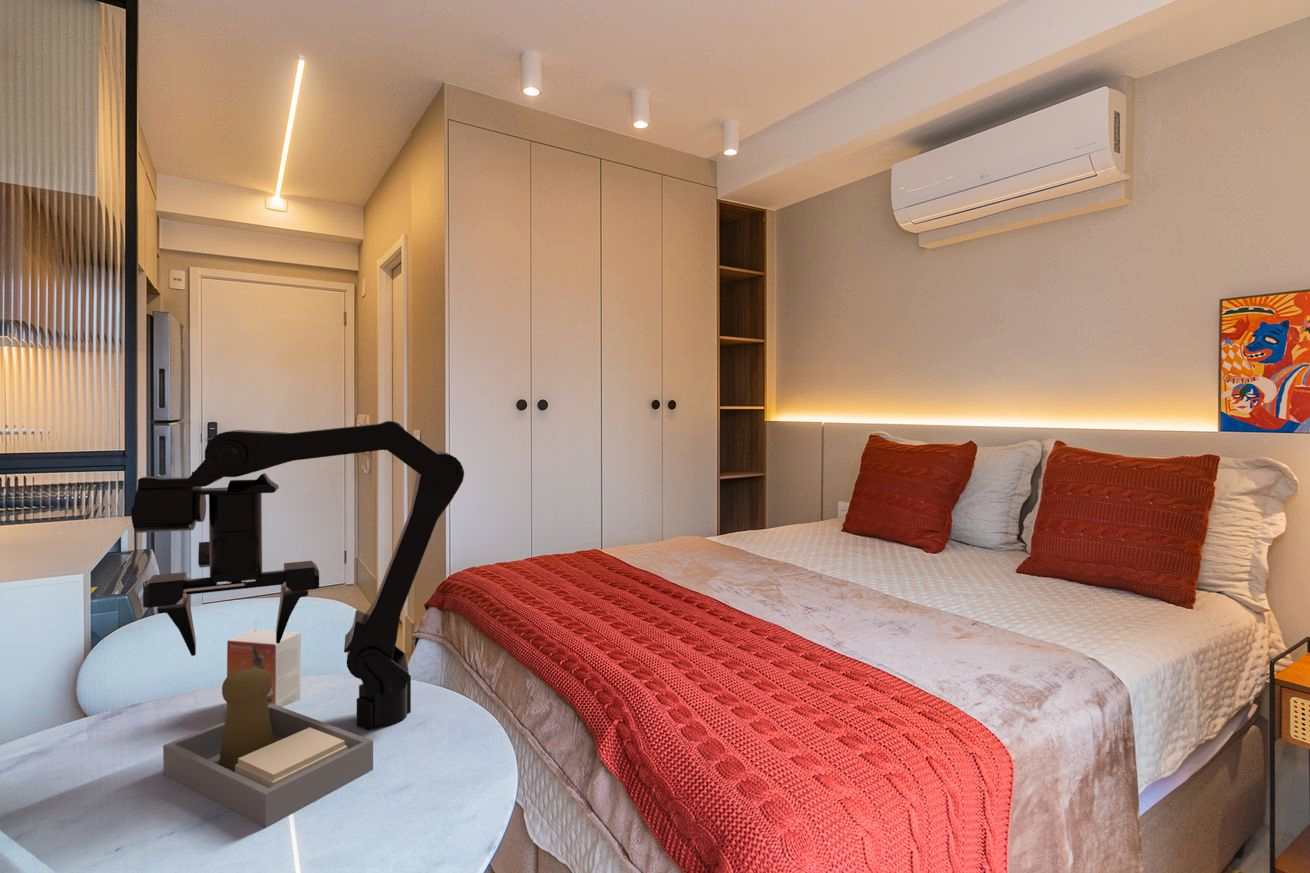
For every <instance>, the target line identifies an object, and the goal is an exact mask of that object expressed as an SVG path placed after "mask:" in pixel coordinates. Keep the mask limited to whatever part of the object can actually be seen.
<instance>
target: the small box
mask: <svg viewBox="0 0 1310 873" xmlns="http://www.w3.org/2000/svg"><path fill="white" fill-rule="evenodd" d="M226 644H227V646H226V648H227V650H226V652H227V653H226V678H227V677H228V676H229V675H231V674H232V673H234V672H237V671H240V670H243V669H249V668H260V669H264V670H266V671H268V672H269V674H270V676H271V679H272V686H271V690H270V692H269V693H268V694H267V702H268V705H270V704H275V705H277V706H280V707H283V708H284V707H285V706H288V705H291V704H293V703H296V702H298V701H300V700H301V684H302V683H301V674H302V673H301V671H302V670H301V669H302V667H301V666H302V665H301V664H302V661H301V660H302V653H301V652H302V649H301V648H302V633H301V632H299V631H298V632H295V631H294V632H291V631H284V633H283V636H282V638H281V641H280V643H278V644H276V630H275V631H274V630H266V629H265V630H263V629H258V628H257V629H256V628H255V629H254V628H253V629H252V630H248V631H247V632H245V633H242V634H239V635H238V636H235V637H233V638H230V639H228V640H227V642H226Z"/></svg>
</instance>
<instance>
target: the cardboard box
mask: <svg viewBox="0 0 1310 873" xmlns="http://www.w3.org/2000/svg"><path fill="white" fill-rule="evenodd" d="M345 750H347V746H346V745H345V741H344V740H342V739H339V738H336V737H334V736H331V735H329V734H326V733H323V732H321V731H318V730H315V729H313V728H310V727H309V728H307V729H305V730H302V731H300V732H298V733H295V734H293V735H291V736H289V737H286V738H284V739H282V740H279V741H277V742H275V743H272V744H270V745H268V746H266V747H263V748H261V749H259V750H256V751H254V752H252V753H249V754H247V755H245V756H243V757H240V758H238V764H236V765H235V773H237V774H239V775H242V776H244V777H246V778H248V779H250V780H252V781H254V782H256V783H259V784H261V785H263V786H265V787H267V788H270V787H272V786H274V785H276V784H278V783H280V782H283V781H285V780H287V779H289V778H291V777H293V776H295V775H297V774H299V773H301V772H303V771H305V770H307V769H309V768H311V767H313V766H315V765H317V764H319V763H321V762H323V761H325V760H327V759H329V758H331V757H333V756H335V755H337V754H339V753H341V752H343V751H345Z"/></svg>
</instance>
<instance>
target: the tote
mask: <svg viewBox="0 0 1310 873" xmlns="http://www.w3.org/2000/svg"><path fill="white" fill-rule="evenodd" d="M268 708H269V714H270V720H271V726H272V733H273V739H274V743H275V742H277V741H279V740H282V739H284V738H286V737H289V736H291V735H293V734H295V733H298V732H300V731H302V730H305V729H307V728H309V727H310V728H313V729H315V730H318V731H321V732H323V733H326V734H329V735H331V736H334V737H336V738H339V739H342V740H344V741H345V745H346V746H347V750H345V751H343V752H341V753H339V754H337V755H335V756H333V757H331V758H329V759H327V760H325V761H323V762H321V763H319V764H317V765H315V766H313V767H311V768H309V769H307V770H305V771H303V772H301V773H299V774H297V775H295V776H293V777H291V778H289V779H287V780H285V781H283V782H280V783H278V784H276V785H274V786H272V787H270V788H267V787H265V786H263V785H261V784H259V783H256V782H254V781H252V780H250V779H248V778H246V777H244V776H242V775H239V774H237V773H235V772H233V771H231V770H229V769H227V768H224V767H222V766H220V765H219V760H220V753H221V746H222V739H223V732H224V725H225V721H224V722H220V723H217V724H214V725H213V726H209V727H207V728H204V729H203V730H199V731H197V732H194V733H192V734H189V735H186V736H183V737H181V738H179V739H175V740H173V741H171V742H168V743H166V744H163V745H162V747H163V748H162V754H163V755H162V756H163V758H162V760H163V776H165V777H167V778H168V779H171V780H172V781H175V782H176V783H178V784H180V785H182V786H184V787H186V788H187V789H190V790H191V791H193V792H196V793H197V794H199V795H202V796H203V797H205V798H207V799H209V800H211V801H213V802H214V803H216V804H219V805H220V806H222V807H225V808H226V809H229V810H230V811H232V812H234V813H236V814H238V815H240V816H241V817H243V818H246V819H247V820H249V821H252V822H253V823H255V824H257V825H259V826H261V827H263V828H265V829H267V828H269V827H270V826H273V825H274V824H276V823H278V822H280V821H281V820H284V819H285V818H287V817H289V816H290V815H293V814H294V813H296V812H298V811H300V810H302V809H304V808H307V806H309V805H311V804H313V803H314V802H316V801H318V800H320V799H323V798H324V797H327V795H329V794H331V793H333V792H335V791H337V790H339V789H340V788H343V787H344V786H346V785H349V783H351V782H355V781H356V780H357V779H359V778H361V777H363V776H364V775H366V774H368V773H370V772H371V771H373V770H374V740H372V739H370V738H366V737H365V736H361V735H359V734H356V733H354V732H350V731H347V730H345V729H342V728H340V727H337V726H333V725H331V724H330V723H329V724H328V723H326V722H323V721H320V720H319V719H318V720H317V719H315V718H313V717H310V716H307V715H304V714H302V713H298V712H296V711H293V710H290V709H289V708H288V709H287V708H285V707H284V706H283V707H280V706H277V705H275V704H270V705H268Z"/></svg>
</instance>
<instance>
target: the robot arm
mask: <svg viewBox="0 0 1310 873" xmlns="http://www.w3.org/2000/svg"><path fill="white" fill-rule="evenodd" d="M377 451H388V452H389V453H391V455H393V456H394V457H396V458H397V459H399V460H400V461H401V462H402V463H404V464H405V465H407V466H408V467H409V468H411V469H412V470H414V471H415V472H416V474H415V475H416V477H415V481H414V486H413V491H412V492H413V493H412V500H411V504H410V505H411V507H410V510H409V513H408V514H407V518H406V520H405V523H404V526H403V528H402V530H401V533H400V536H399V538H398V540H397V543H396V546H395V548H394V550H393V554H392V555H391V559H390V561H389V563H388V566H387V568H386V570H385V573H384V576H383V578H382V581H381V584H380V586H379V588H378V591H377V594H376V597H375V599H374V601H373V602H372V604H370V606H369V608H368V609H367V611H366V612H365V613H364V612H363V611H360V610H355V613H354V618H353V623H352V626H351V628H350V629H349V631H348V632H347V633H346V634H345V637H344V646H343V647H344V648H343V653H344V654H345V653H347V654H346V655H347V656H346V667H347V669H348V671H349V673H350V674H351V675H352V676H353V677H354V678H356V679H359V680H361V682H362V683H361V684H359V685H358V697H357V698H356V727H357V728H360V729H363V730H366V731H368V732H369V731H372V730H377V729H379V728H386V727H390V726H394V725H397V724H399V723H401V722H403V721H404V720H405V719H406V718H407V717H408V714H411V710H412V707H411V706H412V705H411V702H412V699H411V697H412V694H411V693H412V676H411V674H410V672H409V666H408V665H409V664H408V661H407V659H408V658H407V654H406V652H404V651H403V650H401V649H400V648H399V647H398V646H397V640H398V639H397V638H398V633H399V632H398V631H399V627H400V626H399V625H400V619H401V614H402V611H403V609H404V606H405V604H406V601H407V598H408V596H409V593H410V590H411V588H412V585H413V583H414V580H415V578H416V576H417V572H418V570H419V568H420V566H421V562H422V560H423V558H424V555H425V552H426V550H427V547H428V545H429V542H430V540H431V537H432V534H433V532H434V529H435V527H436V525H437V521H438V520H439V518H440V517H441V516H442V514H443V513H444V512H445V511H446V509H447V507H448V506H449V505H450V504H451V502H452V500H453V499H454V497H455V495H456V493H457V492H458V491H459V489H460V487H461V485H462V483H463V481H464V478H465V470H464V467H463V465H462V463H461V462H460V460H459V459H458V458H457V457H455V456H454V455H452V454H450V453H448V452H446V451H442V450H441V451H440V450H437V451H434V450H433V449H431V448H430V447H428V445H426V444H425V443H423V442H422V441H421V440H419V439H418V438H416V437H415V436H414V435H412V434H410V433H409V432H408V431H406V429H405V428H404V426H402V425H401V424H400V423H398V422H396V421H394V420H386V421H383V422H380V423H373V424H363V425H362V424H361V425H354V426H353V425H352V426H346V427H345V426H344V427H336V428H335V427H334V428H326V429H315V430H308V431H299V432H298V431H297V432H283V431H282V432H281V431H267V430H247V429H236V430H228V431H224V432H220V433H217V434H216V435H214V436H213V437H212V438H211V439H210V440H209V441H208V442H207V444H206V447H205V449H204V460H203V461H202V462H201V463H200V464H199V465H198V467H197V468H196V469H195V470H194V471H192V472H191V475H190V476H189V477H161V476H142V477H140V478H139V479H138V480H137V488H136V492H135V495H134V499H133V505H132V506H131V510H130V513H131V522H132V527H133V530H134V532H135V533H139V534H140V533H161V532H182V531H183V532H184V531H185V532H186V531H193V530H194V529H195V527H196V524H197V523H203V522H204V521H205V519H206V514H207V499H206V498H207V497H206V496H208V519H209V520H208V522H209V523H208V524H209V525H208V526H209V528H208V529H209V530H208V531H209V533H208V535H209V538H208V539H209V541H199V542H198V551H197V552H198V553H197V554H198V555H197V556H198V559H197V561H198V562H197V563H198V568H209V577H208V576H207V577H197V578H187V572H186V571H184V572H174V573H164V574H161V573H160V574H154V575H152V576H151V577H149V579H147V581H146V582H145V585H144V587H143V589H142V590H143V591H142V607H143V608H146V609H149V608H151V609H152V608H156V613H157V614H167V615H168V617H169V618H170V620H172V622H173V624H174V625H175V626H176V628H177V629H178V631H179V633H180V635H181V636H182V639H183V641H184V643H185V645H186V648H187V649H188V652H189V653H190V655H191V657H194V656H196V654H197V641H196V634H195V633H196V632H195V626H194V621H193V614H192V609H191V596H190V595H196V594H197V595H198V594H207V593H216V592H225V591H237V590H245V589H254V588H261V587H262V588H263V587H265V588H266V587H271V586H272V587H273V586H280V596H279V606H278V612H277V619H276V627H275V631H276V644H278V643H280V641H281V638H282V636H283V633H284V632H285V630H286V627H287V625H288V622H289V620H290V617H291V615H292V613H293V611H294V609H295V608H296V605H297V604H298V602H299V600H300V599H301V598H305V597H308V596H309V590H311V591H312V590H316V589H320V571H319V570H320V569H319V568H318V566H317V564H316V563H315V562H314V561H312V560H305V561H294V562H284V563H283V569H281V570H272V571H263V537H262V536H263V530H262V529H263V527H262V525H263V522H262V521H263V520H262V519H263V518H262V515H263V514H262V510H263V509H262V504H263V503H262V502H263V501H262V498H263V497H262V495H263V494H274V493H276V491H278V490H279V487H280V486H279V484H277V483H275V482H274V481H272V479H271V478H270V477H269V476H268V475H267V474H266V473H265V472H263V473H261V474H259V476H258V477H257V478H256V479H231V480H230V481H229V482H228V485H227V487H208V486H209V485H211V484H214V483H215V482H218V481H220V480H222V479H223V478H238V477H242V476H245V475H248V474H252V473H256V472H259V471H263V470H266V469H270V468H273V467H275V466H279V465H282V464H287V463H290V462H293V461H295V462H296V461H303V460H311V459H318V458H327V457H335V456H344V455H352V454H353V455H354V454H359V453H369V452H370V453H371V452H377ZM205 487H207V488H205ZM224 582H226V583H224Z"/></svg>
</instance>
